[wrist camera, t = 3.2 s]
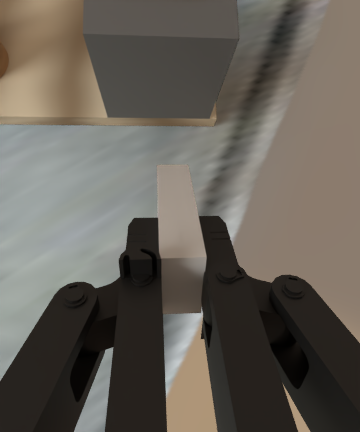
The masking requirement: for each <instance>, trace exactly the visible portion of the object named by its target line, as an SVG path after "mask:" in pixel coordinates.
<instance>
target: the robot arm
mask: <svg viewBox="0 0 360 432" xmlns="http://www.w3.org/2000/svg"><path fill="white" fill-rule="evenodd" d="M157 206H158V218H134V219H133V220H132V222H131V223H130V224H129V226H128V236H127V245H126V250H125V251H124V252H123V253H122V254H121V256H120V258H119V268H120V277H119V278H118V279H117V280H116V281H114V282H113V283H111V284H108V285H106V286H103V287H99V288H94V287H93V286H92V285H91V284H89V283H86V282H74V283H71V284H67V285H66V286H64V287H62V288H61V289H60V290H59V291H58V292H57V293H56V294H55V295H54V297H53V298H52V300H51V302H50V303H49V305H48V306H47V308H46V309H45V311H44V313H43V314H42V316H41V317H40V319H39V321H38V322H37V324H36V325H35V327H34V329H33V330H32V332H31V333H30V335H29V336H28V338H27V340H26V341H25V343H24V344H23V346H22V348H21V349H20V351H19V352H18V354H17V356H16V357H15V359H14V360H13V362H12V364H11V365H10V367H9V368H8V370H7V371H6V373H5V375H4V376H3V378H2V379H1V381H0V432H74V430H75V427H76V424H77V422H78V419H79V417H80V414H81V412H82V409H83V407H84V404H85V402H86V399H87V396H88V394H89V391H90V389H91V386H92V384H93V381H94V379H95V376H96V373H97V371H98V368H99V366H100V363H101V361H102V358H103V356H104V353H105V350H106V349H109V348H112V347H114V348H113V358H112V368H111V377H110V387H109V397H108V406H107V416H106V426H105V432H167V421H166V420H167V419H166V391H165V363H164V335H163V314H179V313H201V307H202V310H203V324H202V334H201V339H204V340H205V347H206V354H207V361H208V368H209V375H210V382H211V389H212V396H213V403H214V409H215V417H216V423H217V430H218V432H298V430H297V427H296V424H295V421H294V418H293V415H292V411H291V408H290V406H289V402H288V399H287V396H286V393H285V390H284V387H283V384H284V386H285V388H286V390H287V391H288V393H289V395H290V396H291V398H292V400H293V402H294V404H295V405H296V407H297V409H298V411H299V412H300V414H301V416H302V418H303V419H304V421H305V423H306V424H307V426H308V428H309V430H310V431H311V432H360V343H359V342H358V341H357V339H356V338H355V337H354V336H353V335H352V334H351V332H350V331H349V330H348V329H347V328H346V327H345V325H344V324H343V323H342V322H341V321H340V319H339V318H338V317H337V316H336V315H335V314H334V312H333V311H332V310H331V309H330V308H329V307H328V306H327V304H326V303H325V302H324V301H323V299H322V298H321V297H320V296H319V295H318V294H317V292H316V291H315V290H314V289H313V288H312V286H311V285H310V284H308V283H307V282H306V281H305V280H303V279H301V278H299V277H297V276H292V275H281V276H279V277H277V278H275V280H274V281H273V282H272V283H270V282H266V281H261V280H257V279H254V278H252V277H250V276H248V275H247V274H246V272H245V270H244V269H243V268H241V267H240V266H239V265H238V262H237V259H236V256H235V252H234V249H233V246H232V243H231V240H230V236H229V233H228V230H227V226H226V223H225V222H224V221H223V220H222V219H221V218H220V217H219V216H198V211H197V206H196V201H195V196H194V191H193V186H192V181H191V176H190V171H189V166H188V165H157ZM282 383H283V384H282Z"/></svg>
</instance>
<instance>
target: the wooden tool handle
mask: <svg viewBox="0 0 360 432" xmlns="http://www.w3.org/2000/svg"><path fill="white" fill-rule="evenodd" d="M8 63H9V58H8V53H7V51H6V49H5V48H4V46H3V45H2V43H1V42H0V78H1V77H2V76H3V74H4V73H5V71H6V70H7V67H8Z"/></svg>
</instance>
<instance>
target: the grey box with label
mask: <svg viewBox="0 0 360 432" xmlns="http://www.w3.org/2000/svg"><path fill="white" fill-rule="evenodd" d="M83 36H84V40H85V43H86V46H87V50H88V53H89V56H90V60H91V63H92V66H93V70H94V73H95V76H96V80H97V83H98V87H99V90H100V93H101V97H102V100H103V103H104V107H105V110H106V113H107V117H108V118H185V119H210V116H211V113H212V111H213V108H214V105H215V103H216V100H217V97H218V95H219V92H220V89H221V86H222V84H223V81H224V78H225V76H226V73H227V70H228V68H229V65H230V62H231V60H232V57H233V54H234V52H235V49H236V46H237V43H238V41H239V28H238V12H237V0H84V2H83Z"/></svg>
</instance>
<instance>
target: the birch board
mask: <svg viewBox="0 0 360 432" xmlns="http://www.w3.org/2000/svg"><path fill="white" fill-rule="evenodd" d="M83 2H84V0H0V42H1V43H2V45H3V46H4V48H5V49H6V51H7V53H8V58H9V63H8V67H7V70H6V71H5V73H4V74H3V76H2V77H1V78H0V124H24V125H129V126H214V124H215V121H216V119H217V118H216V103H215V105H214V108H213V111H212V113H211V116H210V119H185V118H108V117H107V113H106V110H105V107H104V103H103V100H102V97H101V93H100V90H99V87H98V83H97V80H96V76H95V73H94V70H93V66H92V63H91V60H90V56H89V53H88V50H87V46H86V43H85V40H84V36H83Z"/></svg>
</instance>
